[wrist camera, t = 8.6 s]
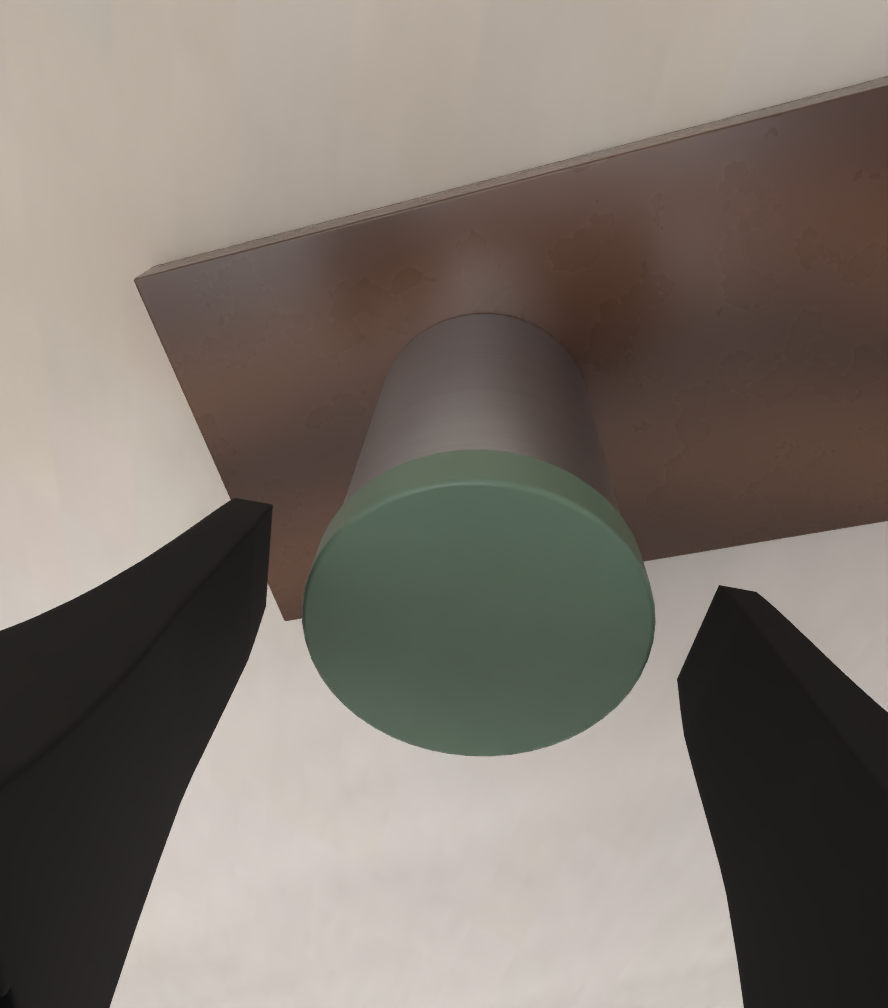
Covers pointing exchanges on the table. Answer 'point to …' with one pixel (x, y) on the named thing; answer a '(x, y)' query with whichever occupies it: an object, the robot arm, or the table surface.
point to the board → (582, 326)
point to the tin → (480, 553)
